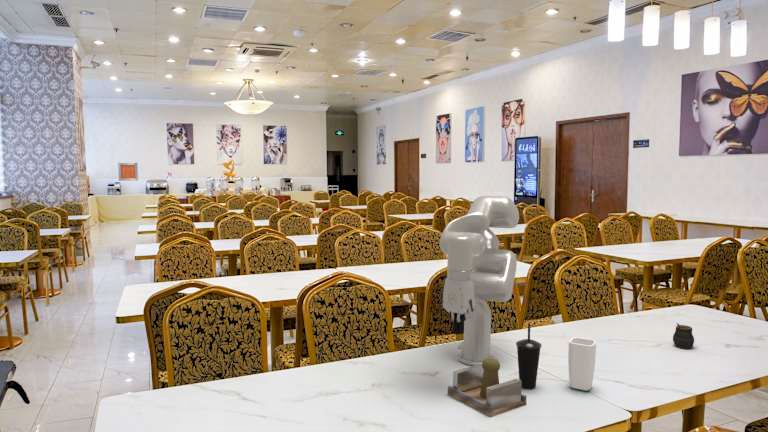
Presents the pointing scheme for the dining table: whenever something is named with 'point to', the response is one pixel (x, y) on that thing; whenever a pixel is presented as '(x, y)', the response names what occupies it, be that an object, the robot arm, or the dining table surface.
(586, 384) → the cup
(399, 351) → the dining table surface
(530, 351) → the drinking cup
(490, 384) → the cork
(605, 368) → the dining table surface
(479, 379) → the sliding jaw
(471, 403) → the base
